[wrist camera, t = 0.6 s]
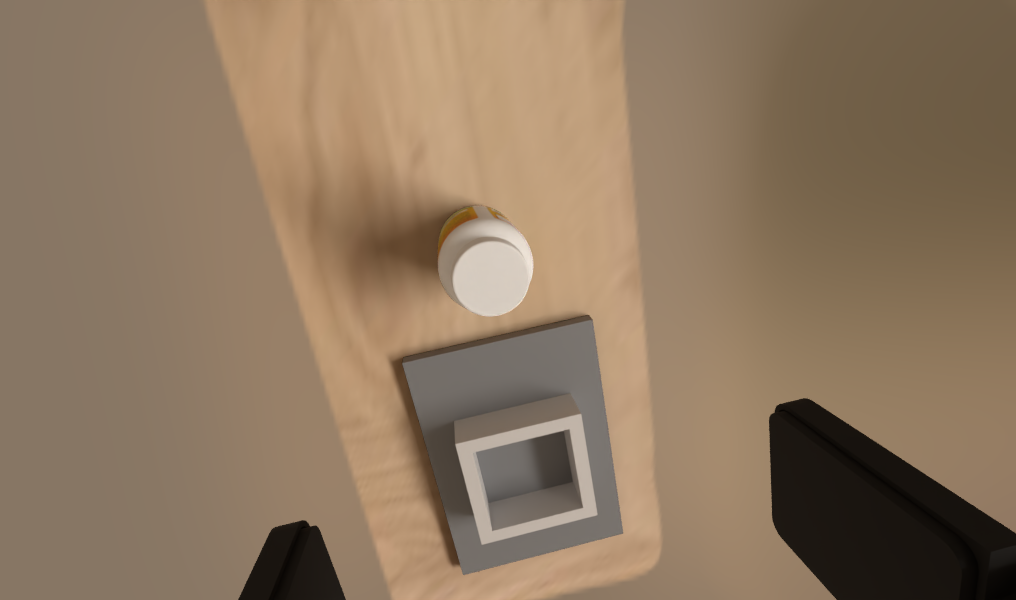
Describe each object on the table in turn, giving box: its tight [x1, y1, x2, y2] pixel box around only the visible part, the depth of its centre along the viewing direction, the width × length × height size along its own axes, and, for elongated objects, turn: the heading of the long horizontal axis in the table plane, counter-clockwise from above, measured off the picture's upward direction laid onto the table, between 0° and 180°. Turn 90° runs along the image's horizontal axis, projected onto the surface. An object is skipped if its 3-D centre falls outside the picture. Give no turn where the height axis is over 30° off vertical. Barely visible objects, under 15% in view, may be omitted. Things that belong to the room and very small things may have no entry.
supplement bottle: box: [438, 206, 533, 316], centre depth 29 cm, size 5×5×10 cm
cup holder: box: [402, 315, 623, 575], centre depth 37 cm, size 20×14×4 cm
